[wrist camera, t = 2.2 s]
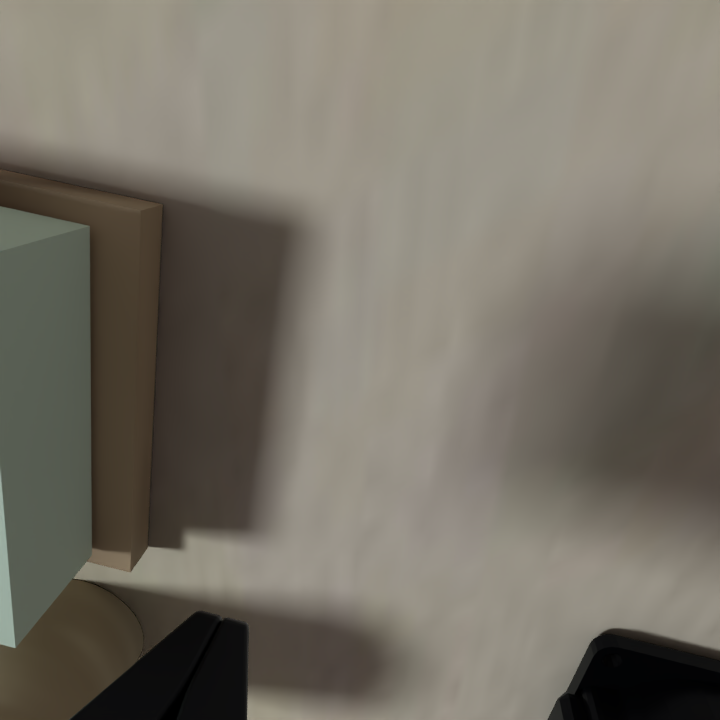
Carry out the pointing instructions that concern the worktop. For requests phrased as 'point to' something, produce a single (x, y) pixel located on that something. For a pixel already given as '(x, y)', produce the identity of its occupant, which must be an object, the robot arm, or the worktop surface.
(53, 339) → the cover
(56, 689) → the peg
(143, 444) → the board
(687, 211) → the worktop surface
